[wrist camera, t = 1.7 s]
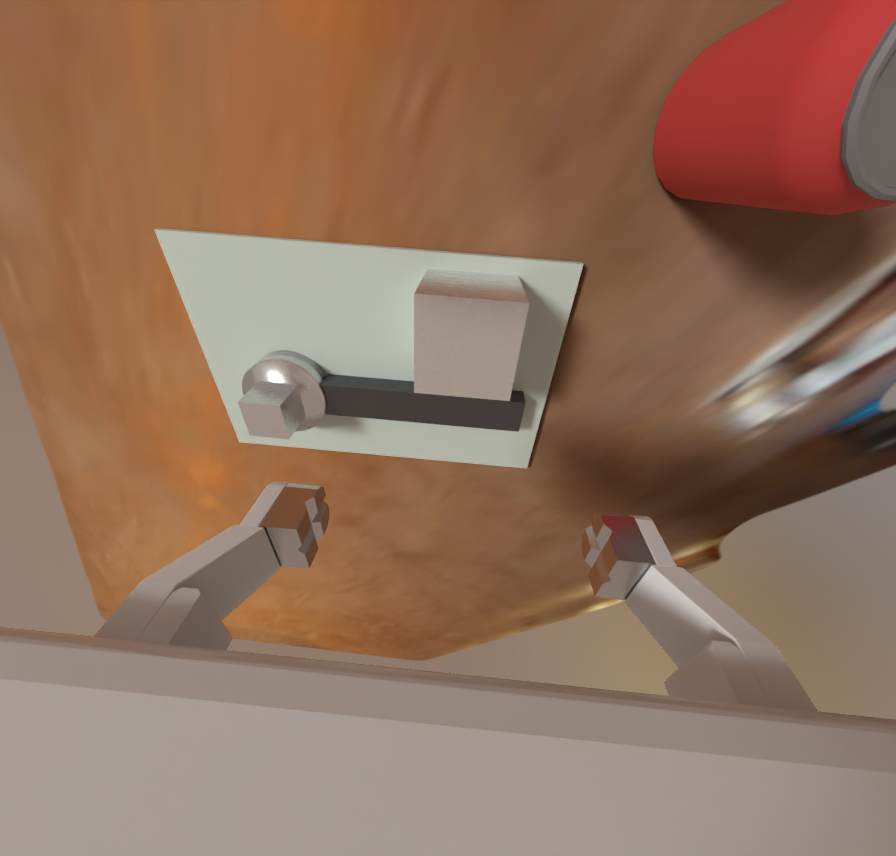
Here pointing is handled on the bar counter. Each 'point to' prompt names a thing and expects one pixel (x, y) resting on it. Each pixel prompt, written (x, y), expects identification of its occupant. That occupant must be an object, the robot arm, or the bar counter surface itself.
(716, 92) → the beer can
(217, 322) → the mat
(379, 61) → the bar counter surface
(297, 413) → the lever
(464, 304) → the grey box
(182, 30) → the bar counter surface
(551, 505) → the bar counter surface
